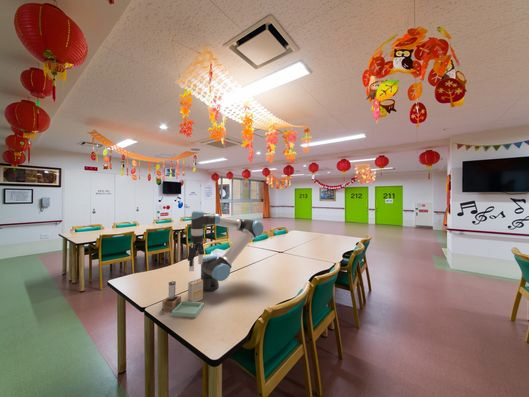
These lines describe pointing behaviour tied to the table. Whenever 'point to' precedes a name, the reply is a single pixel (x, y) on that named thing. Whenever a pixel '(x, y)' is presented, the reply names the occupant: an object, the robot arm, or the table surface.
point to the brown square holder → (171, 303)
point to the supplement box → (195, 290)
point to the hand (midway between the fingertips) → (196, 267)
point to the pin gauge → (171, 291)
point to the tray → (188, 309)
